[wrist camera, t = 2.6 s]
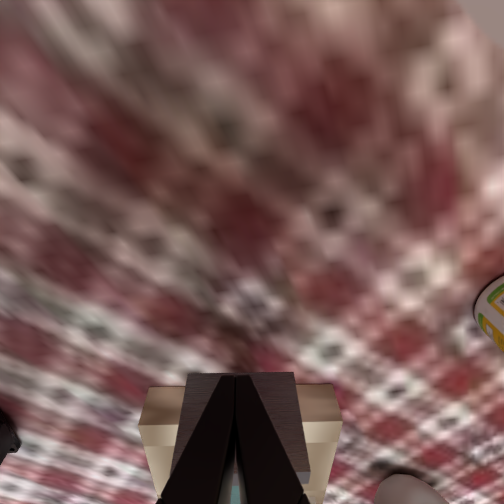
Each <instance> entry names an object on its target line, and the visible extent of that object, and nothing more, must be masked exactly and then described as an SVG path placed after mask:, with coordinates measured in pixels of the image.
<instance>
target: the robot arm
mask: <svg viewBox="0 0 504 504" xmlns="http://www.w3.org/2000/svg"><path fill="white" fill-rule="evenodd" d="M20 446H21V444H20V443H19V441H18V439H17V438H16V436H15V434H14V433H13V431H12V429H11V428H10V426H9V425H8V423H7V421H6V420H5V418H4V416H3V415H2V413H1V411H0V465H1V463H2V462H3V460H4V458H5V457H6V455H7V453H16V452H17V451H18V450H19V448H20ZM235 449H236V464H237V474H238V484H239V494H240V503H241V504H310V501H309V499H308V497H307V495H306V494H305V493H304V489H303V487H302V485H301V483H300V480H299V478H298V476H297V474H296V472H295V470H294V468H293V465H292V463H291V461H290V459H289V457H288V455H287V453H286V450H285V448H284V446H283V444H282V442H281V440H280V438H279V435H278V433H277V431H276V429H275V427H274V425H273V423H272V420H271V418H270V416H269V414H268V412H267V410H266V408H265V405H264V403H263V401H262V399H261V397H260V395H259V393H258V390H257V388H256V386H255V384H254V382H253V380H252V378H251V376H250V375H249V374H238V375H236V377H235V375H233V374H227V375H221V377H220V378H219V380H218V382H217V384H216V386H215V388H214V390H213V392H212V394H211V396H210V398H209V400H208V402H207V404H206V406H205V408H204V410H203V412H202V414H201V416H200V418H199V420H198V422H197V424H196V426H195V427H194V429H193V431H192V433H191V435H190V437H189V439H188V441H187V443H186V445H185V447H184V449H183V451H182V453H181V455H180V457H179V459H178V461H177V463H176V465H175V467H174V469H173V471H172V473H171V475H170V477H169V479H168V481H167V483H166V485H165V487H164V489H163V491H162V493H161V495H160V496H161V498H159V499H158V500H157V502H156V504H230V500H231V491H232V482H233V474H234V465H235Z"/></svg>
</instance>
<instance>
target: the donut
mask: <svg viewBox="0 0 504 504" xmlns="http://www.w3.org/2000/svg"><path fill="white" fill-rule="evenodd" d="M374 504H449V503H448V502H447V501H446V500H445V499H444V498H443V497H442V496H441V494H440V493H439V492H437V491H436V490H435V489H433V488H432V487H431V486H430V485H428V484H427V483H426V482H424V481H422V480H420V479H418V478H415V477H413V476H411V475H404V474H393V475H391V476H389V477H388V478H386V479H385V480H383V481H382V482H381V483H380V485H379V488H378V490H377V492H376V495H375V499H374Z"/></svg>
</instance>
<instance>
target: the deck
mask: <svg viewBox="0 0 504 504" xmlns="http://www.w3.org/2000/svg"><path fill="white" fill-rule="evenodd" d="M296 389H297V395H298V401H299V406H300V412H301V418H302V424H303V429H304V435H305V441H306V447H307V452H308V458H309V464H310V470H311V474H310V479H309V484H301V485H302V487H303V489H304V493H305V494H306V495H307V497H315V500H316V504H322V503H323V499H324V495H325V491H326V487H327V483H328V479H329V475H330V471H331V467H332V463H333V459H334V455H335V451H336V447H337V443H338V439H339V435H340V431H341V427H342V423H343V420H342V416H341V413H340V409H339V406H338V402H337V399H336V396H335V392H334V389H333V385H332V384H307V385H296ZM184 392H185V387H149V390H148V393H147V397H146V400H145V403H144V407H143V410H142V413H141V417H140V420H139V424H138V427H139V431H140V435H141V438H142V442H143V446H144V449H145V453H146V457H147V460H148V464H149V467H150V471H151V475H152V478H153V482H154V486H155V489H156V493H157V497H158V499H159V498H161V496H160V495H161V493H162V491H163V489H164V487H165V485H166V483H167V481H168V479H169V477H170V476H169V475H170V469H171V464H172V458H173V453H174V447H175V442H176V436H177V431H178V425H179V420H180V414H181V408H182V403H183V397H184Z"/></svg>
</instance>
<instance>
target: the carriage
mask: <svg viewBox="0 0 504 504" xmlns="http://www.w3.org/2000/svg"><path fill="white" fill-rule="evenodd" d="M227 374H233V375H235V377H236V375H238V374H249V375H250V376H251V378H252V380H253V382H254V384H255V386H256V388H257V390H258V393H259V395H260V397H261V399H262V401H263V403H264V405H265V408H266V410H267V412H268V414H269V416H270V418H271V420H272V423H273V425H274V427H275V429H276V431H277V433H278V435H279V438H280V440H281V442H282V444H283V446H284V448H285V450H286V453H287V455H288V457H289V459H290V461H291V463H292V465H293V468H294V470H295V472H296V474H297V476H298V478H299V480H300V483H301V484H309V479H310V474H311V470H310V464H309V458H308V452H307V447H306V441H305V435H304V429H303V424H302V418H301V412H300V406H299V401H298V395H297V389H296V384H295V378H294V372H259V373H196V374H188V375H187V381H186V386H185V392H184V397H183V403H182V408H181V414H180V420H179V425H178V431H177V436H176V442H175V447H174V453H173V458H172V464H171V469H170V475H171V473H172V471H173V469H174V467H175V465H176V463H177V461H178V459H179V457H180V455H181V453H182V451H183V449H184V447H185V445H186V443H187V441H188V439H189V437H190V435H191V433H192V431H193V429H194V427H195V426H196V424H197V422H198V420H199V418H200V416H201V414H202V412H203V410H204V408H205V406H206V404H207V402H208V400H209V398H210V396H211V394H212V392H213V390H214V388H215V386H216V384H217V382H218V380H219V378H220V377H221V375H227ZM170 475H169V476H170ZM230 504H241V503H240V494H239V484H238V474H237V464H236V449H235V465H234V474H233V482H232V491H231V500H230Z"/></svg>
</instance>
